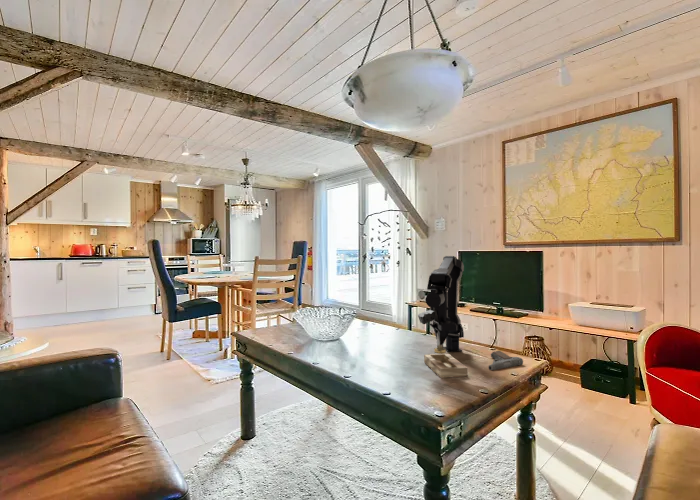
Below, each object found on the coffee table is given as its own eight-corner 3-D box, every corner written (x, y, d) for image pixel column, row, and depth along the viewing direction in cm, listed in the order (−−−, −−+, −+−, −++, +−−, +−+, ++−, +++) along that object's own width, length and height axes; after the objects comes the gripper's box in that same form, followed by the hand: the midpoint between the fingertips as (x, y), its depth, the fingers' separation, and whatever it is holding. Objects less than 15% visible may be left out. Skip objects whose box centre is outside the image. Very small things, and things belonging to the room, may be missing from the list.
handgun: (470, 355, 144) (492, 364, 133) (500, 349, 150) (524, 358, 139) (470, 363, 144) (492, 373, 133) (500, 357, 150) (524, 366, 139)
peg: (432, 350, 142) (432, 331, 142) (443, 350, 143) (443, 331, 142) (436, 353, 138) (436, 334, 137) (447, 353, 138) (447, 334, 138)
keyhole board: (424, 362, 143) (424, 354, 143) (448, 360, 145) (448, 353, 145) (440, 377, 127) (440, 369, 126) (467, 376, 128) (467, 367, 128)
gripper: (412, 300, 148) (412, 338, 148) (428, 308, 129) (428, 351, 130) (438, 300, 149) (438, 337, 150) (457, 307, 131) (457, 350, 131)
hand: (440, 343), depth 140 cm, fingers closed on peg, 2 cm apart
